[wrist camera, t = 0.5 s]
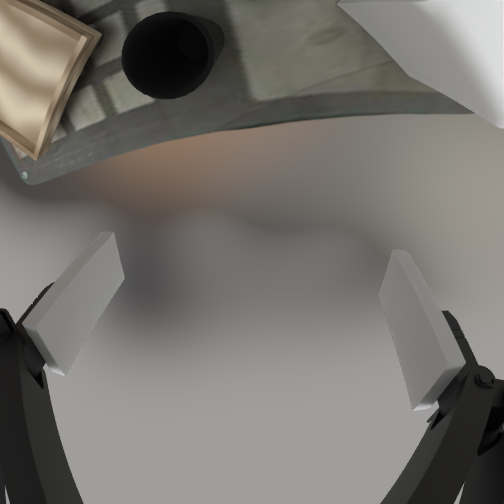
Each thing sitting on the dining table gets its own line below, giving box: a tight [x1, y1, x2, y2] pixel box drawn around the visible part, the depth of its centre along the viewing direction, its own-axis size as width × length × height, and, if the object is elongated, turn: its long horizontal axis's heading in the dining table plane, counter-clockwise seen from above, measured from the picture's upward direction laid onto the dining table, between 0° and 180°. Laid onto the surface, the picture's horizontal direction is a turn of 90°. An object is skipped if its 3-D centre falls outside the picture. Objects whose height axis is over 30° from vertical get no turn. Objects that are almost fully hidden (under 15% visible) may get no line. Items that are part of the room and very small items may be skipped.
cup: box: [122, 11, 224, 99], centre depth 23 cm, size 8×8×12 cm
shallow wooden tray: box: [0, 0, 104, 161], centre depth 23 cm, size 18×20×8 cm
